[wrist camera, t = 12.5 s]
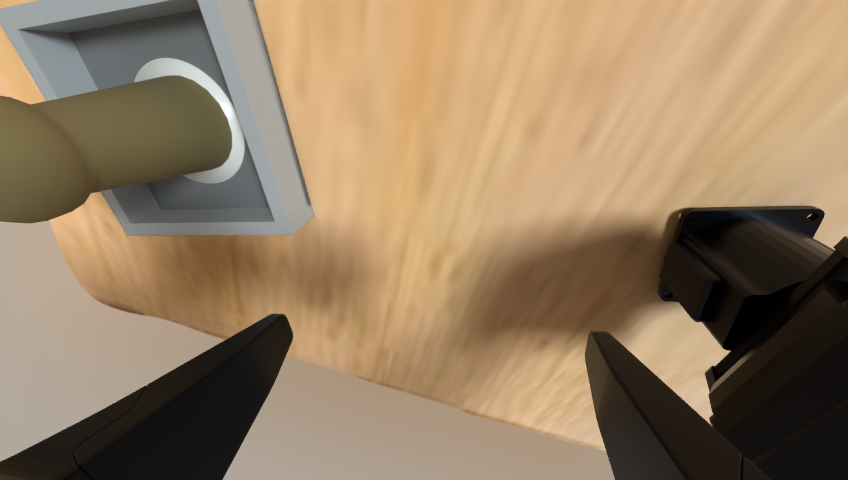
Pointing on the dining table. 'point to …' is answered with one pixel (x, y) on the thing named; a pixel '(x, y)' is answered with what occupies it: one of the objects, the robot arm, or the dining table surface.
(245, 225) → the walled pen
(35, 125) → the cork
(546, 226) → the dining table surface
